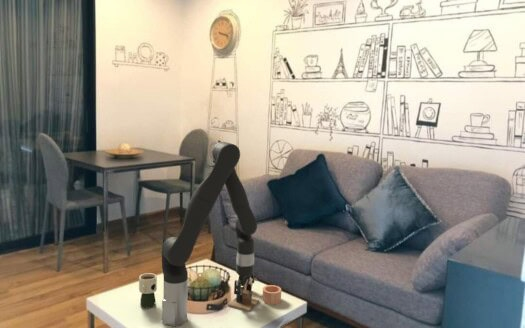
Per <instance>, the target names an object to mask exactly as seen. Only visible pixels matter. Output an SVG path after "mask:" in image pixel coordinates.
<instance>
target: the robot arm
mask: <svg viewBox="0 0 525 328" xmlns="http://www.w3.org/2000/svg"><path fill="white" fill-rule="evenodd" d="M240 151H241V150H240V148H239V146H237V145H236V144H233V143H230V142H226V141H221V142H217V143H216V144H215V145H214V146H213V147H212V152H211V154H212V158H213V161H214V165H213V168H212V169H211V171H210V172H209V174H208V175H207V176H206V178H205V179H204V180H203V181H202V182H201V183H200V184H199V185H198V186H197V187H196V188H195V190H194V192H192V193H193V194H192V196H191V198H190V199H189V202H188V203H187V206H186V209H185V216H184V221H183V226H182V228H181V230H180V232H179V234H178V236H172V237H168V238H167V239H166V240H165V241H164V243H163V244H162V247H161V271H162V275H163V299H162V300H161V304H162V305H161V323H162V324H164V325H168V326H171V327H177V326H180V325H183V324H185V323H186V322H187V321H188V291H189V290H188V288H189V287H188V285H189V283H188V282H189V281H188V280H189V276H188V275H189V273H188V269H187V266H186V263H187V262H188V261H189V259H190V257H191V256H192V253H193V250H194V248H195V245H196V243H197V240H198V237H199V235H200V233H201V232H202V229H203V228H204V226H205V223H206V222H207V219H208V218H209V215H210V214H211V212H212V211H213V208H214V207H215V204H216V202H217V200H218V198H219V196H220V194H221V192H222V190H223V189H224V186H225V188H226V191H227V195H228V198H229V200H230V204H231V207H232V210H233V212H234V213H235V215H236V217H237V218H236V220H235V233H236V240H237V246H236V247H237V249H236V250H237V251H236V259H235V261H236V262H235V269H236V270H235V273H236V274H237V275H238V279H235V280H234V286H233V295H237V302H238V303H242V293H243V290H245V287H246V290H248V291H252V290H253V289H252V288H253V285H254V284H255V279H254V277H255V276H256V275H255V273H256V272H255V240H254V239H253V237H252V235H254V234H255V233H256V231H257V229H258V223H257V220H256V217H255V214H254V212H253V210H252V209H251V206H250V201H249V198H248V196H247V192H246V189H245V188H244V186H243V183H242V181H241V180H240V178H239V176H238V173H237V171H236V167H237V165H238V163H239V161H240V158H241V152H240ZM251 278H252V280H251ZM246 285H247V286H246ZM252 292H253V291H252Z"/></svg>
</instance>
